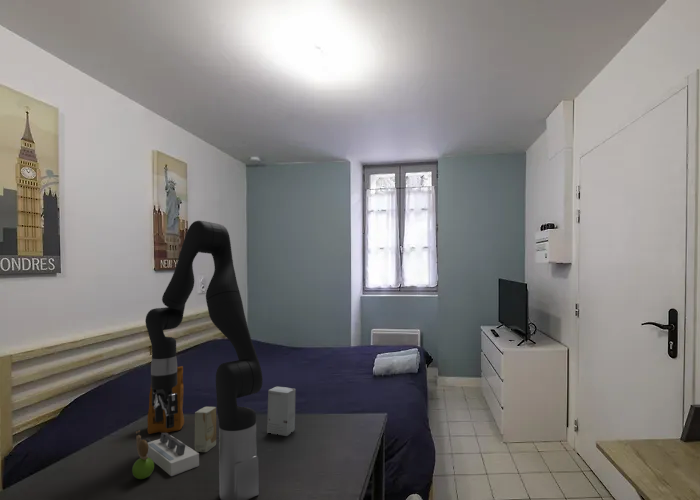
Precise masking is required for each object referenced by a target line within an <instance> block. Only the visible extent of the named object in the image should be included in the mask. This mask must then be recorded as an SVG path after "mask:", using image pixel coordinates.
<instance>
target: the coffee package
mask: <svg viewBox="0 0 700 500" xmlns="http://www.w3.org/2000/svg"><path fill="white" fill-rule="evenodd" d="M172 392H173V394H175V393H177V400H178V413H176V414H174V427H172V428H166V413H165V410H163V420H162V421H159V422H156V421H155V410H156V409H154V406H152V388H151V385H150V391H149V396H148V397H149V398H148V399H149V402H148V410H147V434H148V435H152V434H156V433H168V434H169V433H173V432H176V431H181V430H182V428H183V426H184V424H185V417H184V413H183V411H184V410H183V407H184V366H183V365H181V366H177V385H176V386H175V387H173V388H172ZM174 409H175V406H174ZM171 411H172V410H171Z"/></svg>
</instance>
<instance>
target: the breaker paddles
mask: <svg viewBox="0 0 700 500" xmlns="http://www.w3.org/2000/svg"><path fill="white" fill-rule="evenodd" d="M160 433H161V432H160ZM171 436H172V435H170V434H169V432H168V433H161V434H160V438H159V439H160V442H162V443H166V442H168V446H167V447H169V448H175V447H176V446H177V448H176V453H177V454H184V451H185V445H186V444H185V443H184V444H183V442H182V441H180V440H179V439H177V438H176V437H174V436H173V437H174V438H173V437H171ZM168 440H169V441H168ZM178 440H179V441H180V442H179V441H178ZM181 442H182V443H181Z"/></svg>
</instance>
